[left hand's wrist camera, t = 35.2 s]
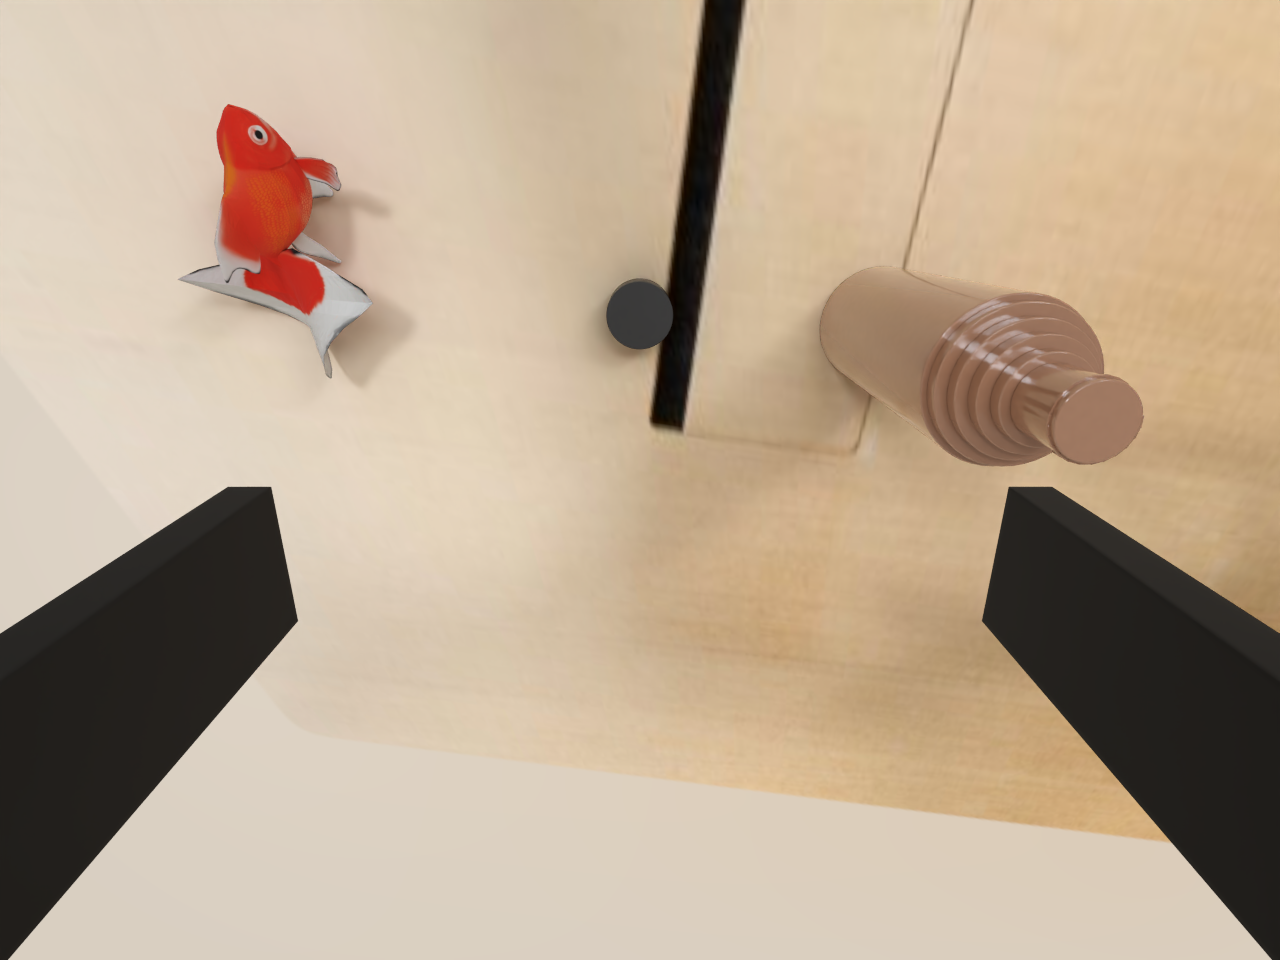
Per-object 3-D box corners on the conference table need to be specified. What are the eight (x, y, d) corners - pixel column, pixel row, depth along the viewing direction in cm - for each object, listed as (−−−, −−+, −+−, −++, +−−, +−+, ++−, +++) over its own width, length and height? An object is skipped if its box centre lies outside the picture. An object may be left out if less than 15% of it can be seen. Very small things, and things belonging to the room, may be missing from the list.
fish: (413, 130, 39) (275, 185, 32) (425, 354, 50) (325, 430, 43) (263, 72, 41) (103, 112, 34) (307, 300, 52) (193, 364, 45)
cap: (663, 349, 48) (664, 355, 46) (602, 335, 48) (600, 341, 46) (678, 286, 47) (680, 290, 44) (615, 271, 46) (614, 274, 44)
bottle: (814, 381, 49) (970, 523, 26) (825, 266, 46) (1009, 310, 23) (924, 381, 49) (1178, 523, 26) (941, 266, 46) (1241, 310, 23)
